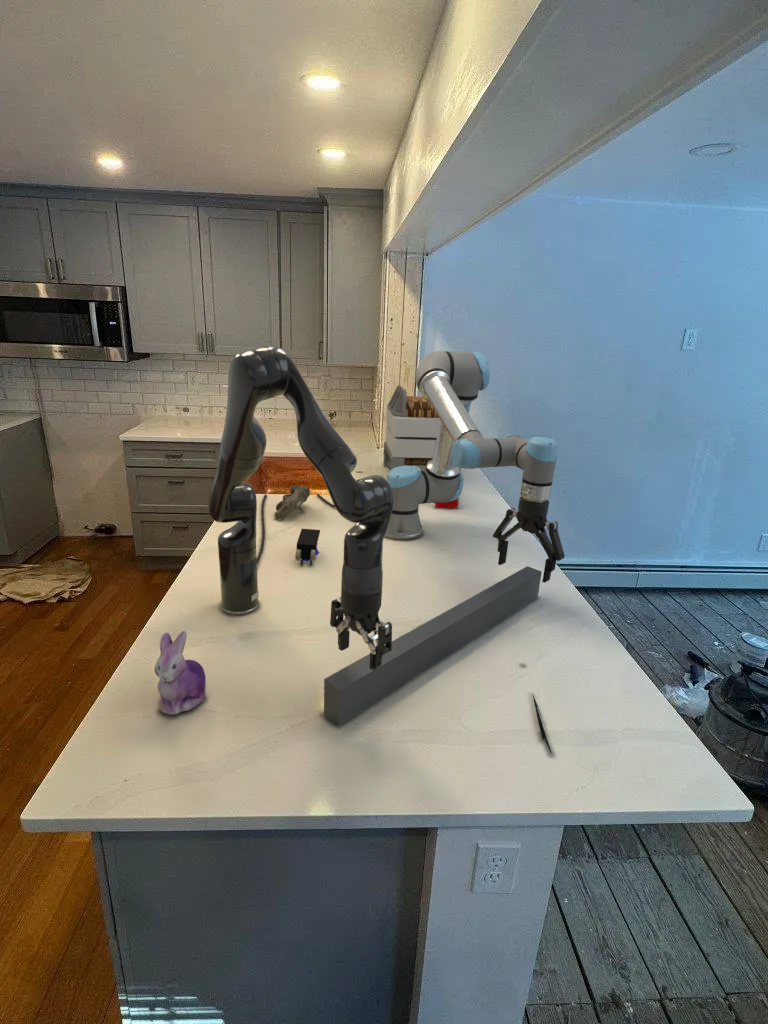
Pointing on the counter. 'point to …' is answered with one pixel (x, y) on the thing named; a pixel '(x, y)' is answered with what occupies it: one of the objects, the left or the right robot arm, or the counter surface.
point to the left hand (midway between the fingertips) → (359, 658)
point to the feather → (541, 724)
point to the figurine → (178, 677)
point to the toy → (447, 504)
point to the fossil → (292, 501)
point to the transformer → (409, 430)
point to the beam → (426, 646)
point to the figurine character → (307, 545)
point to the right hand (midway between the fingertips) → (523, 572)
